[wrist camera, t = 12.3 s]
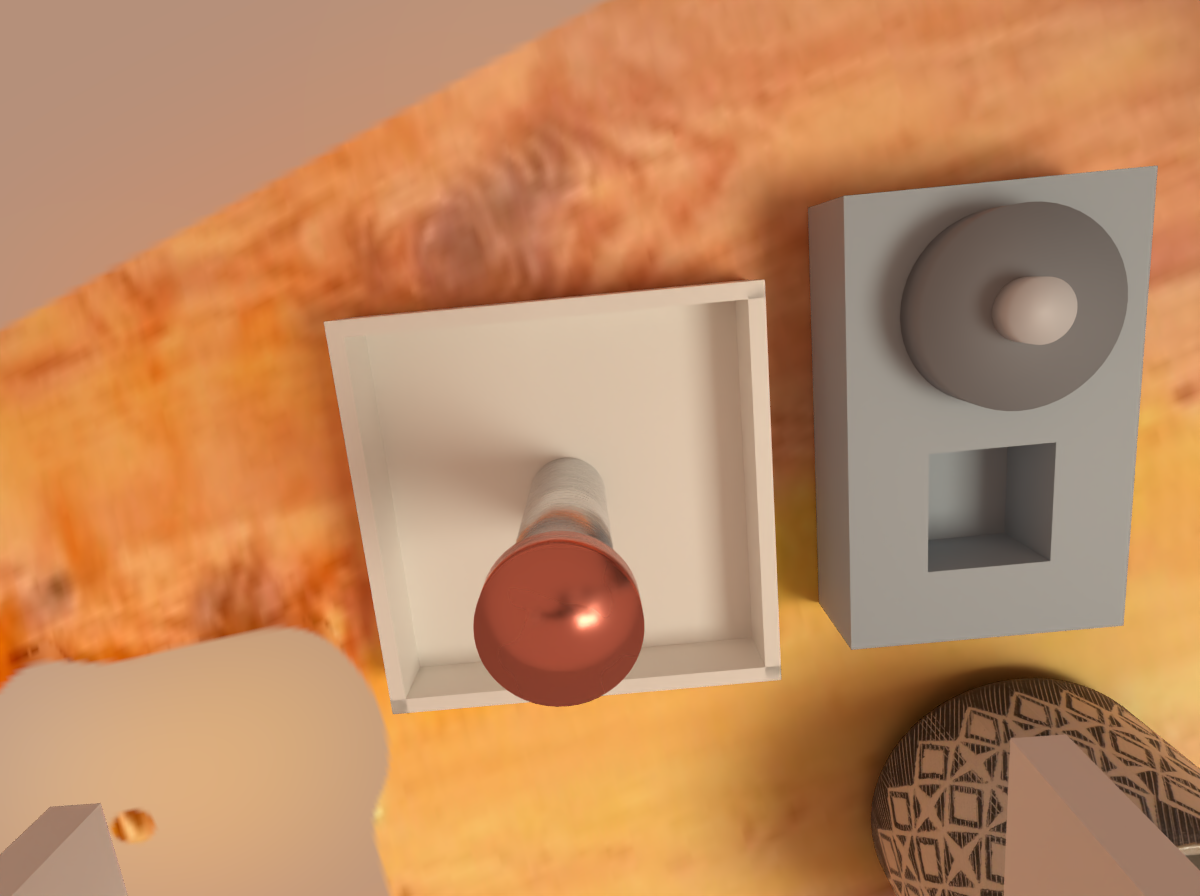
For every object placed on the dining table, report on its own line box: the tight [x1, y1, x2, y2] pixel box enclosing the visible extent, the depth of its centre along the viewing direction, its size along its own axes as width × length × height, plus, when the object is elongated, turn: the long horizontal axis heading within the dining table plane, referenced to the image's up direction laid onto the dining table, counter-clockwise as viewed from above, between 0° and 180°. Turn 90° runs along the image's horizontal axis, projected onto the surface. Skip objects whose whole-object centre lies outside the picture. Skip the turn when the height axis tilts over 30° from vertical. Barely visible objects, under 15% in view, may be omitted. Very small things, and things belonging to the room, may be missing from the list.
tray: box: [324, 280, 781, 714], centre depth 28 cm, size 15×15×3 cm
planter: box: [871, 678, 1200, 896], centre depth 28 cm, size 13×13×10 cm
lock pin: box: [473, 457, 645, 707], centre depth 23 cm, size 4×4×12 cm
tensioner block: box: [808, 166, 1158, 650], centre depth 26 cm, size 16×10×7 cm, turn 5°
